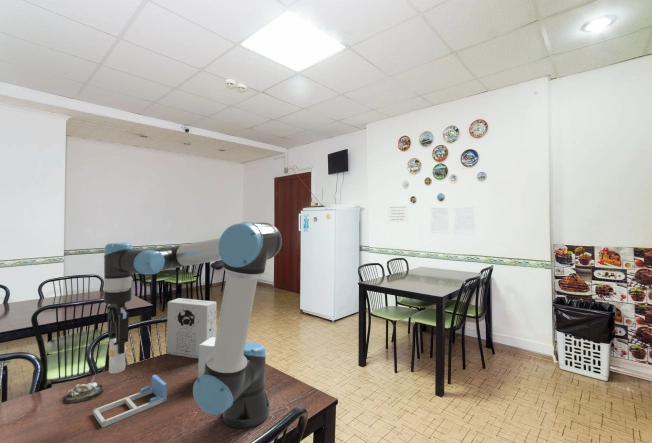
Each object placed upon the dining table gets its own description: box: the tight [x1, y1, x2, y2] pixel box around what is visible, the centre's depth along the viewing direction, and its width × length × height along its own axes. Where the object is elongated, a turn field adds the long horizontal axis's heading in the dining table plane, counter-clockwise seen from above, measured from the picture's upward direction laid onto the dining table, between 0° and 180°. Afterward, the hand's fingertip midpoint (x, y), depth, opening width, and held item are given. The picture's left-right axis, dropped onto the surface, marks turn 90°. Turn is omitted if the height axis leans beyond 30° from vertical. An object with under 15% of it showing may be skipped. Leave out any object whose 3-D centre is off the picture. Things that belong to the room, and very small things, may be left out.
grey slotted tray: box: [92, 374, 168, 429], centre depth 106 cm, size 19×10×6 cm, turn 140°
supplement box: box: [197, 337, 216, 378], centre depth 126 cm, size 9×9×15 cm
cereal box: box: [166, 297, 217, 360], centre depth 148 cm, size 22×8×25 cm, turn 76°
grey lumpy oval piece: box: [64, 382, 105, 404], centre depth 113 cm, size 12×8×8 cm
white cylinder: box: [108, 338, 127, 375], centre depth 102 cm, size 5×5×10 cm
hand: (117, 360), depth 102 cm, fingers closed on white cylinder, 5 cm apart
